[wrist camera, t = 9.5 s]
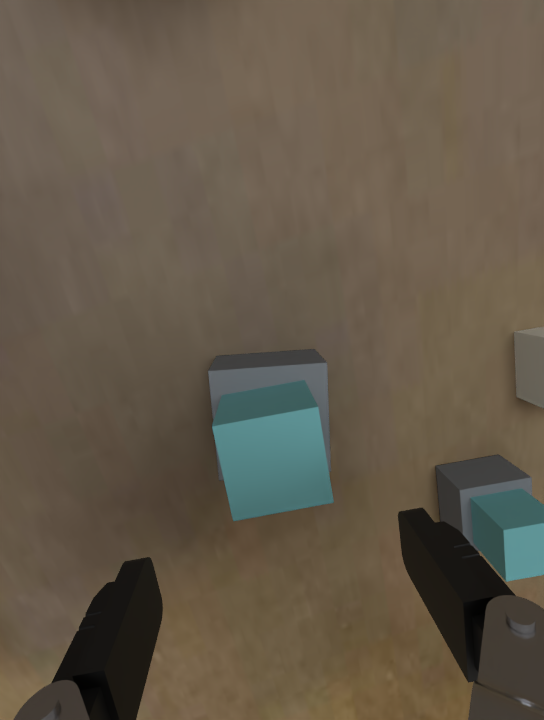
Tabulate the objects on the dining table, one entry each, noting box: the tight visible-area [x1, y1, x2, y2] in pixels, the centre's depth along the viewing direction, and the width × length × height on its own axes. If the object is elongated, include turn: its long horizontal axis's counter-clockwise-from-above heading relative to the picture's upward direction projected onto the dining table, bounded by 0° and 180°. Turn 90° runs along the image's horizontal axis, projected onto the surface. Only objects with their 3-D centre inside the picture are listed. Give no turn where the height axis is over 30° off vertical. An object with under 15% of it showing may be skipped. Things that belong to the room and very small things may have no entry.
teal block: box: [212, 380, 334, 521], centre depth 20 cm, size 5×5×5 cm
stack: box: [436, 455, 544, 581], centre depth 26 cm, size 5×5×7 cm
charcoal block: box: [208, 349, 331, 481], centre depth 25 cm, size 7×7×5 cm
